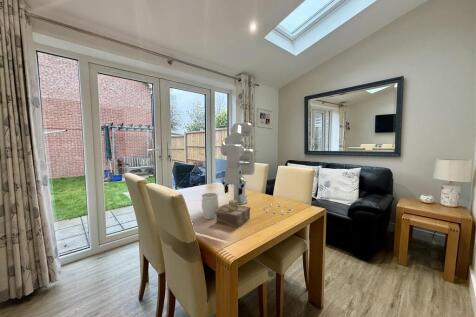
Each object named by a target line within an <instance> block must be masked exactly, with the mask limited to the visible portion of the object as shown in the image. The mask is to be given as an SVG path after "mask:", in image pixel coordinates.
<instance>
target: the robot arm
mask: <svg viewBox="0 0 476 317" xmlns="http://www.w3.org/2000/svg"><path fill="white" fill-rule="evenodd" d="M253 134H254V128H253V124H252V123H251V122H235V123H233V124H232V127H231V128H230V134H229V135H228V136H226V137H224V139H223V140H222V143H221V147H220V153H221V155H222V156H225V157H226V167H225V170H224V171H225V172H224V177H222V178H220V182H221V184H222V185H223V188H224V194H228V193H229V185H233V186H232V187H233V199H232V200H236V201H238V205H245V204H247V203H248V200H247V199H246V198H248V195H247V194H246V184H247V182H248V181H247V180H246V178H245V177H244V176H252V175H254V174H255V167H256V166H255V160H256V159H255V157H256V156H255V152H254V150H253V149H251V148H246V142H245V140H244V139H243V138H251V137H253Z"/></svg>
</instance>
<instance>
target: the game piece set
mask: <svg viewBox="0 0 476 317" xmlns="http://www.w3.org/2000/svg"><path fill="white" fill-rule="evenodd" d="M277 203H278V206H279V207H281V202H280V201H279V202H277ZM267 204H268V202H266V203H265V205H264V207H263V209H266V208H268V207H269V206H268V205H267ZM272 204H273V203H272V202H270V206H271V207H273V205H272ZM286 207H287V208H288V210H287V211H286V212H287V213H288V212H289V213H290V210H291V207H292V206H291V205H289V206H288V205H287V206H286ZM289 209H290V210H289ZM265 212H266V213H269V210H268V209H266V210H265ZM280 212H281V213H282V214H281V215H284V210H280ZM272 214H276V211H275V210H273V211H272Z"/></svg>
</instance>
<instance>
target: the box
mask: <svg viewBox="0 0 476 317" xmlns="http://www.w3.org/2000/svg"><path fill="white" fill-rule="evenodd" d="M250 216H251V209H250V210H248V211H247V212H245V213H244V214H242V215H241V216H239V217H238V218H235V217H231V216H226V215H221V214H217V213H216V217H215V218H216V220H215V221H216V224H218V225H219V224H220V225H223V226H227V227H231V228H236V229H238V228H239V227H240V226H242V225H243V224H244V223H247V221H248V220H250V218H251V217H250Z"/></svg>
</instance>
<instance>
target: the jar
mask: <svg viewBox="0 0 476 317" xmlns="http://www.w3.org/2000/svg"><path fill="white" fill-rule="evenodd" d="M218 197H219V194H218V193H213V192H208V193H203V194H201V210H202V213H203V214H202V215H203V217H204V218H205V219H210V220H211V219H215V218H216V211H217V210H219V198H218Z"/></svg>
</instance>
